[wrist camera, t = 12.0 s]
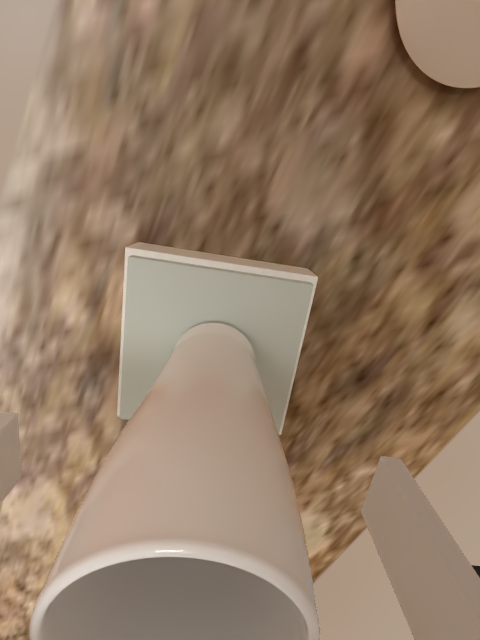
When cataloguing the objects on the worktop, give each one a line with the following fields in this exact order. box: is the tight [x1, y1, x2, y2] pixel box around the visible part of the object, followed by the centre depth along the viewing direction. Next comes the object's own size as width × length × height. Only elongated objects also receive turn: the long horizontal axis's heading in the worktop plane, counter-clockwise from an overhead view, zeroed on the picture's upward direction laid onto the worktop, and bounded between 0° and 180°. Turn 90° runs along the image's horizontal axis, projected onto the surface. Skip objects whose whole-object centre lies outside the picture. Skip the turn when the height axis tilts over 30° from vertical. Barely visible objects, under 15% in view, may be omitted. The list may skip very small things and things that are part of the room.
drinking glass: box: [29, 322, 320, 640], centre depth 15 cm, size 7×7×15 cm
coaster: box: [117, 242, 318, 435], centre depth 24 cm, size 12×12×4 cm
